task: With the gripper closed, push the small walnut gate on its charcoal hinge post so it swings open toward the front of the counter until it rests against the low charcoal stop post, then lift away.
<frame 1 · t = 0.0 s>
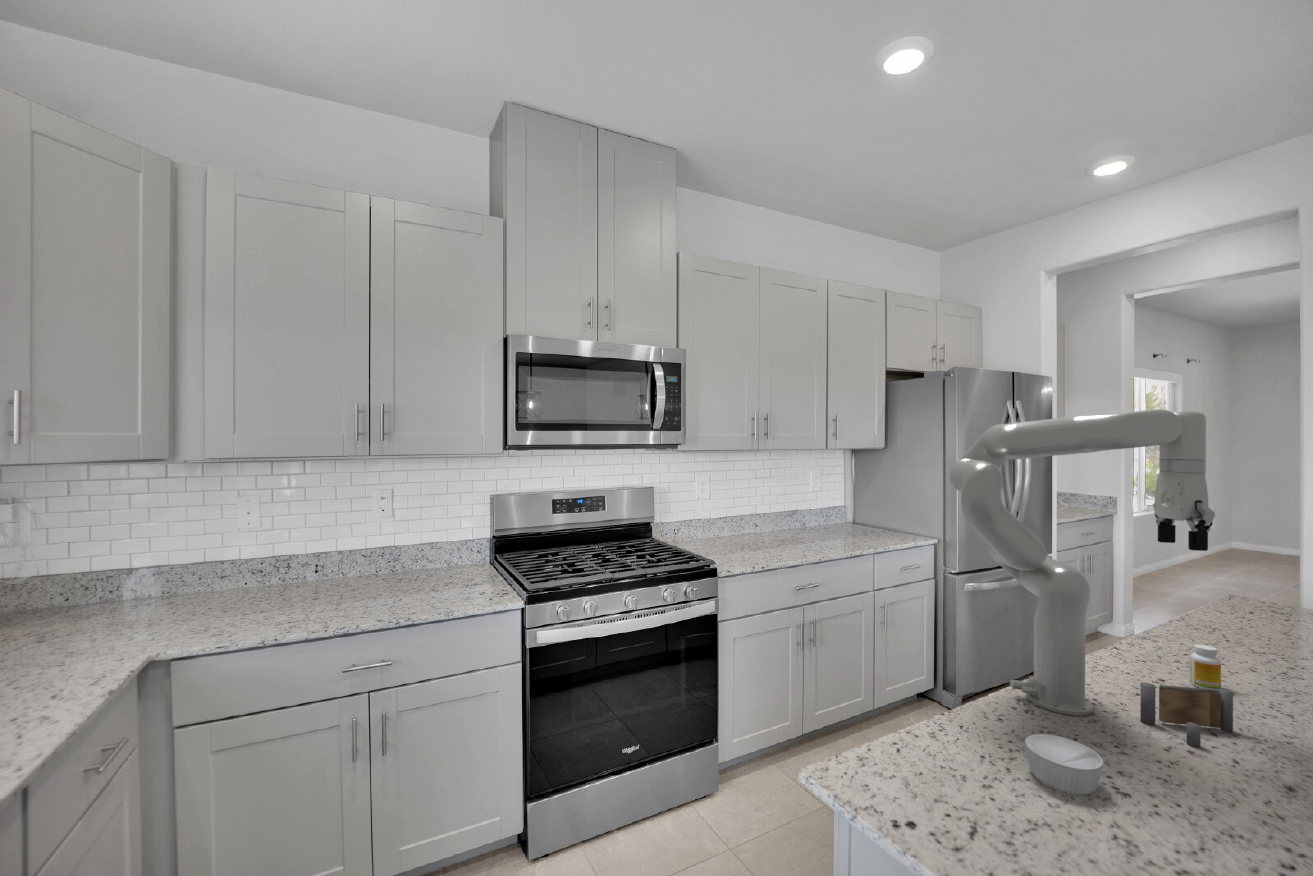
hand: (1181, 546, 125), 37 cm above the countertop, tool pointing down, fingers open, 9 cm apart
gate: (1189, 705, 120), point 4 cm above the countertop, hinge at 0.0°
supplement bottle: (1205, 687, 140), on the countertop
gate frame: (1157, 723, 121), on the countertop
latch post: (1226, 730, 118), on the countertop
ramekin: (1062, 781, 100), on the countertop
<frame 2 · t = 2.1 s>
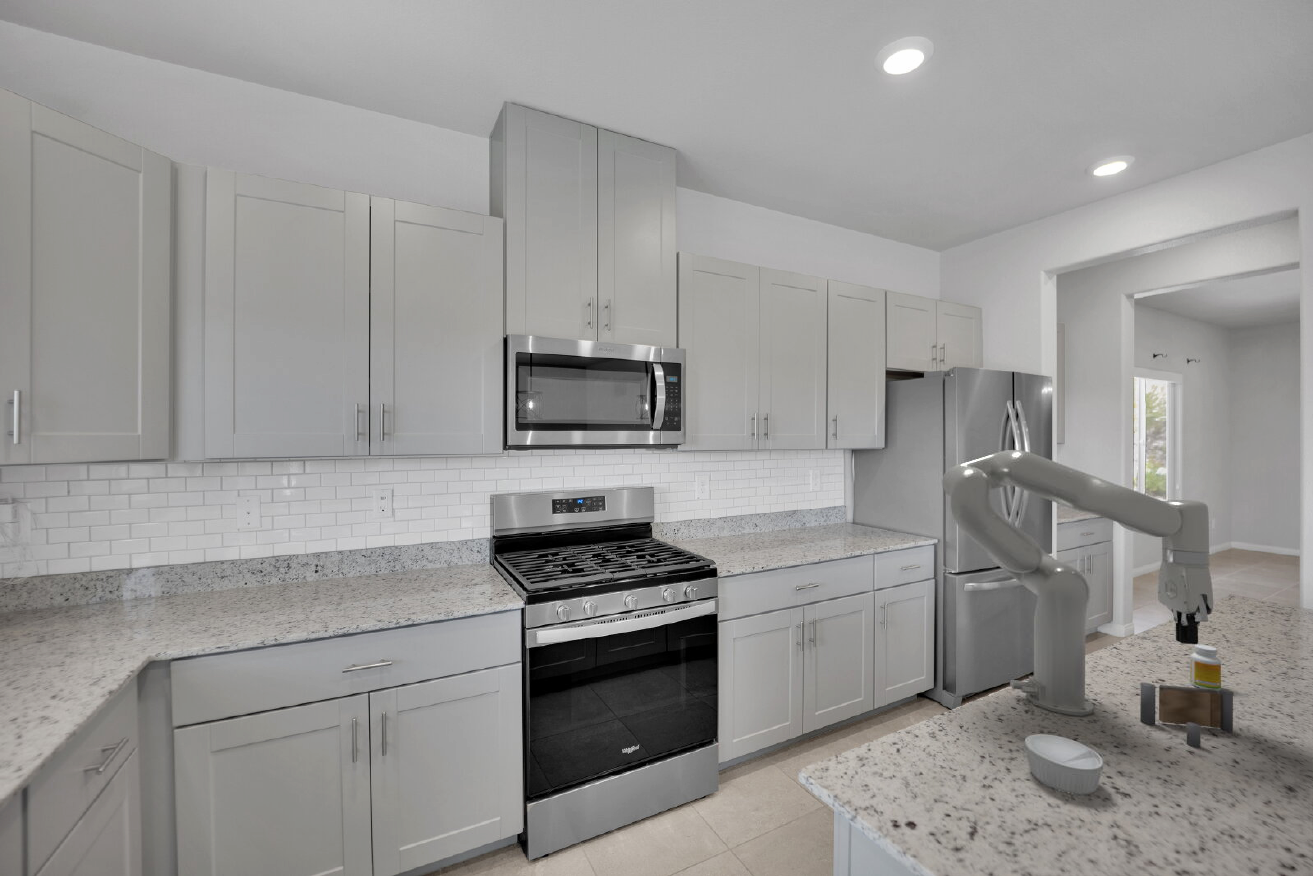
hand: (1187, 642, 124), 16 cm above the countertop, tool pointing down, fingers closed
nothing on the countertop moved.
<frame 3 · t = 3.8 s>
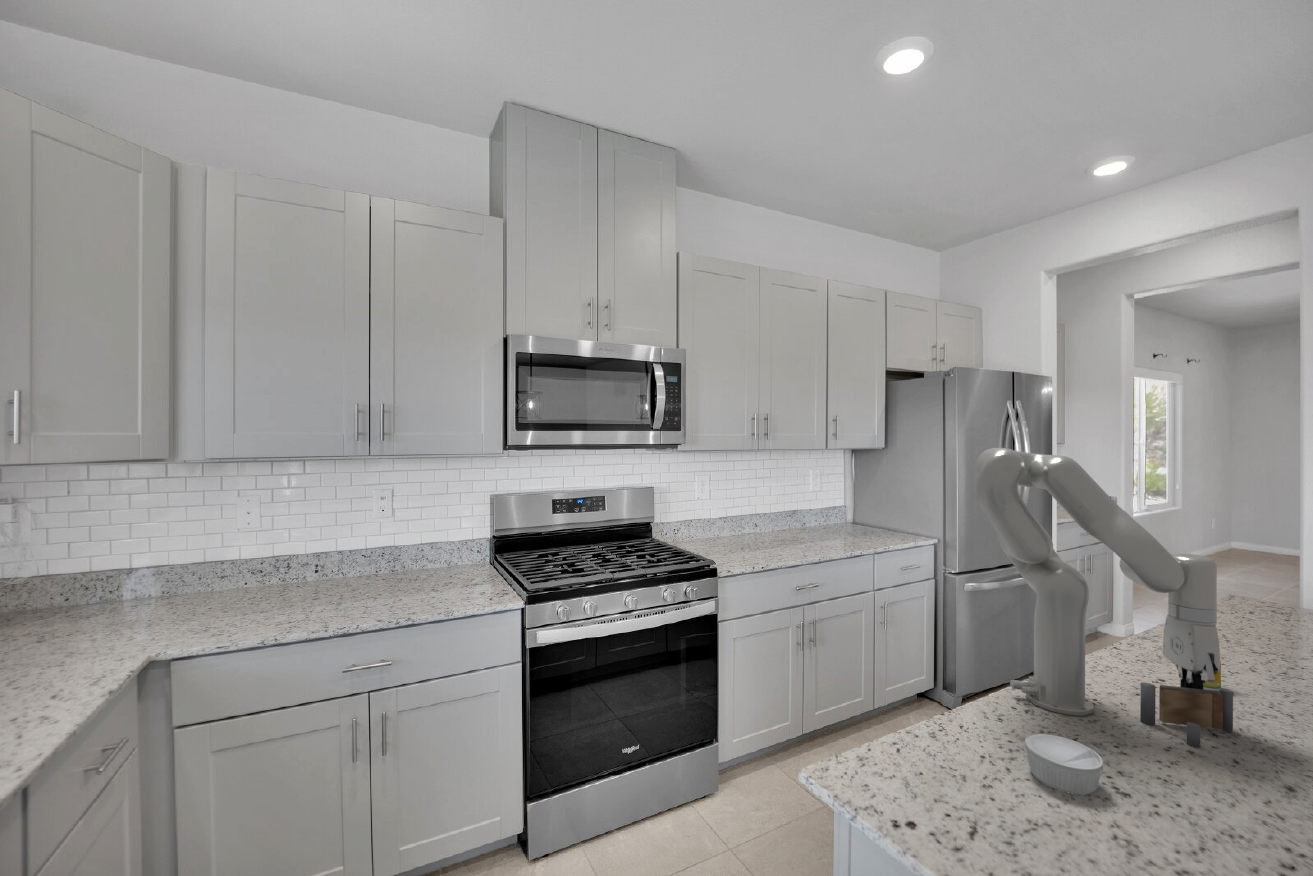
hand: (1191, 699, 121), 5 cm above the countertop, tool pointing down, fingers closed
gate: (1190, 706, 119), point 4 cm above the countertop, hinge at -4.0°, touching gripper
everything else where it was.
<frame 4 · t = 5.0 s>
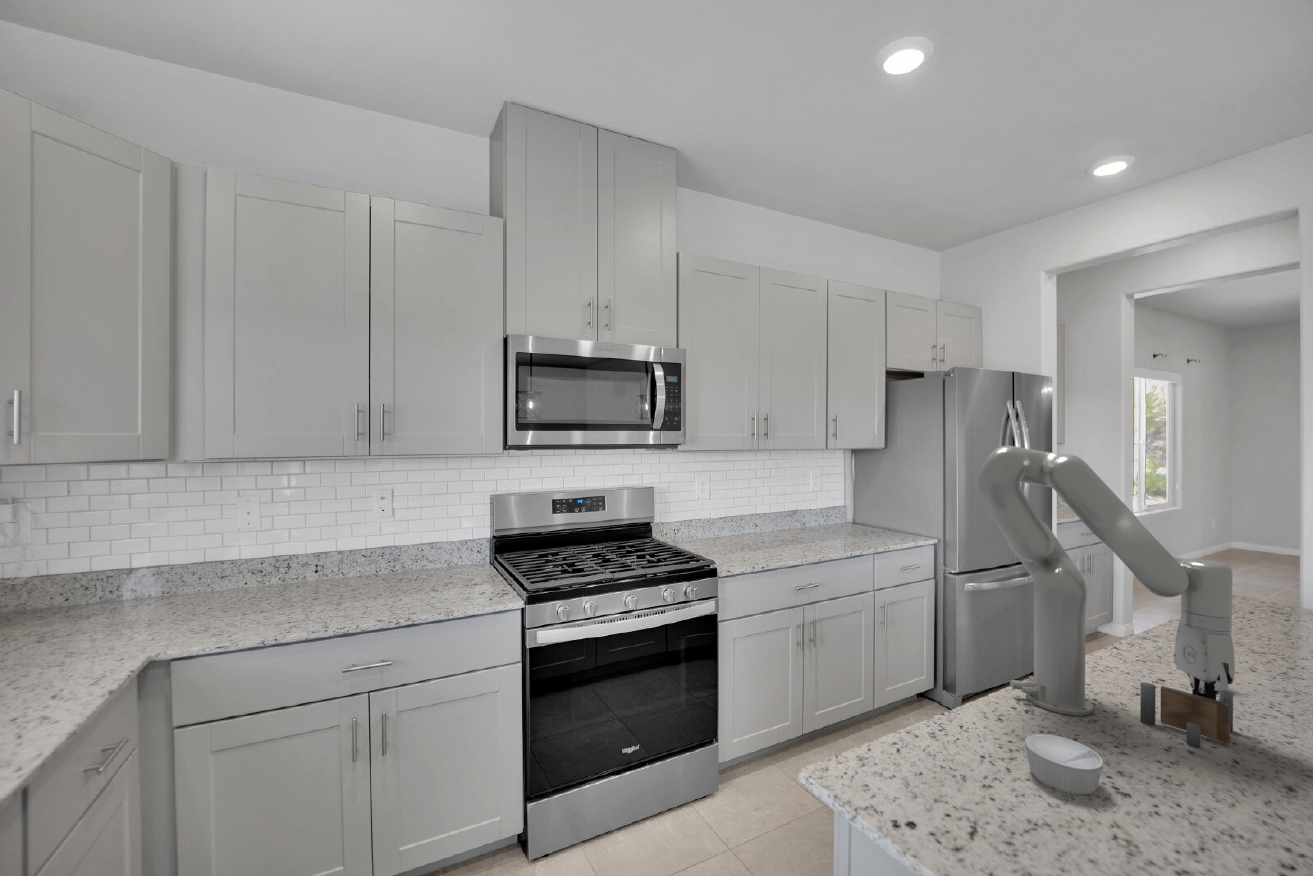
hand: (1203, 710, 117), 4 cm above the countertop, tool pointing down, fingers closed
gate: (1194, 713, 116), point 4 cm above the countertop, hinge at -41.8°, touching gripper
everything else where it was.
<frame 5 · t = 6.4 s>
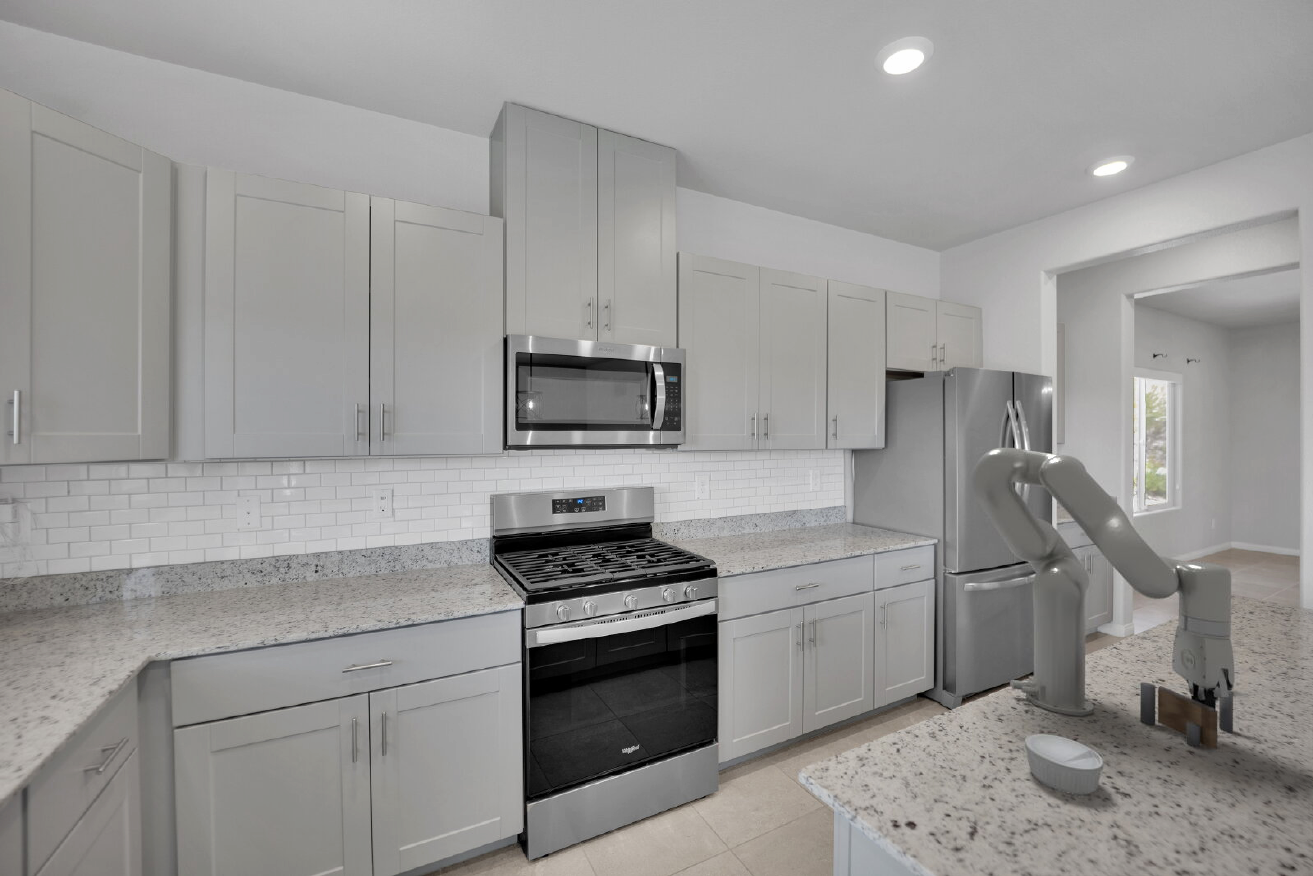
hand: (1203, 717, 114), 5 cm above the countertop, tool pointing down, fingers closed
gate: (1186, 715, 115), point 4 cm above the countertop, hinge at -71.3°, touching gate frame, gripper
everything else where it was.
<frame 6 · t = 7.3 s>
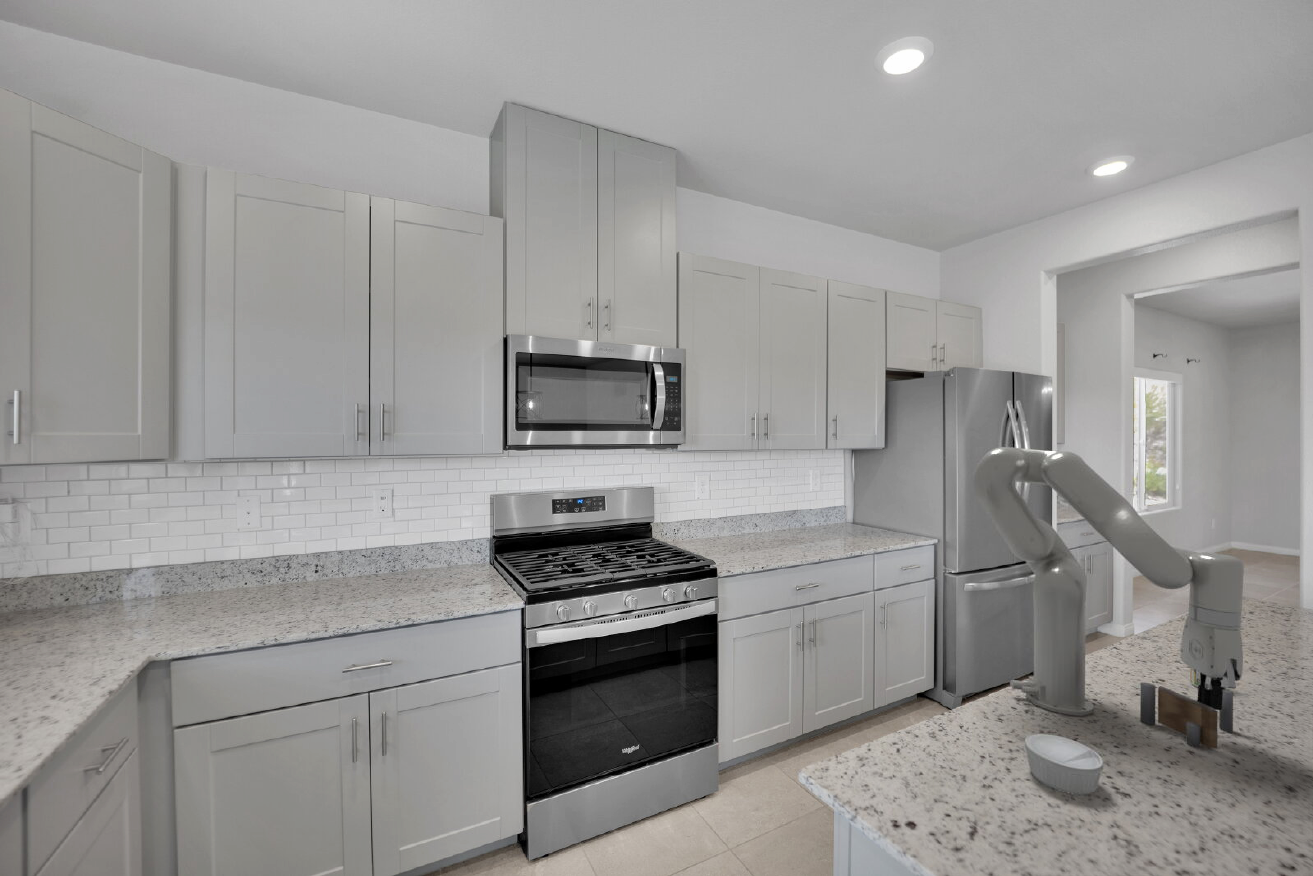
hand: (1209, 707, 114), 6 cm above the countertop, tool pointing down, fingers closed
gate: (1186, 715, 115), point 4 cm above the countertop, hinge at -71.2°
everything else where it was.
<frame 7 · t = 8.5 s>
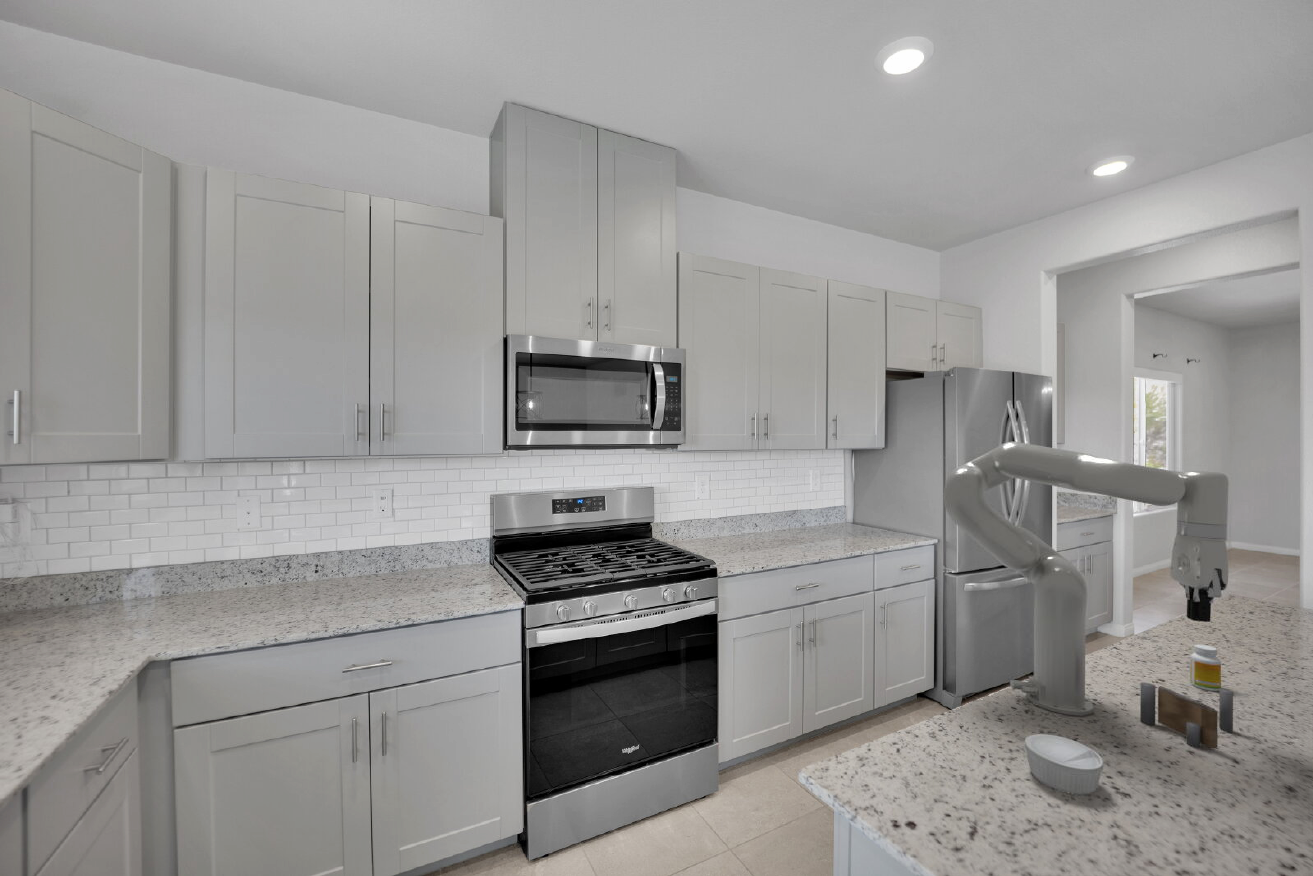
hand: (1198, 619, 118), 23 cm above the countertop, tool pointing down, fingers closed
nothing on the countertop moved.
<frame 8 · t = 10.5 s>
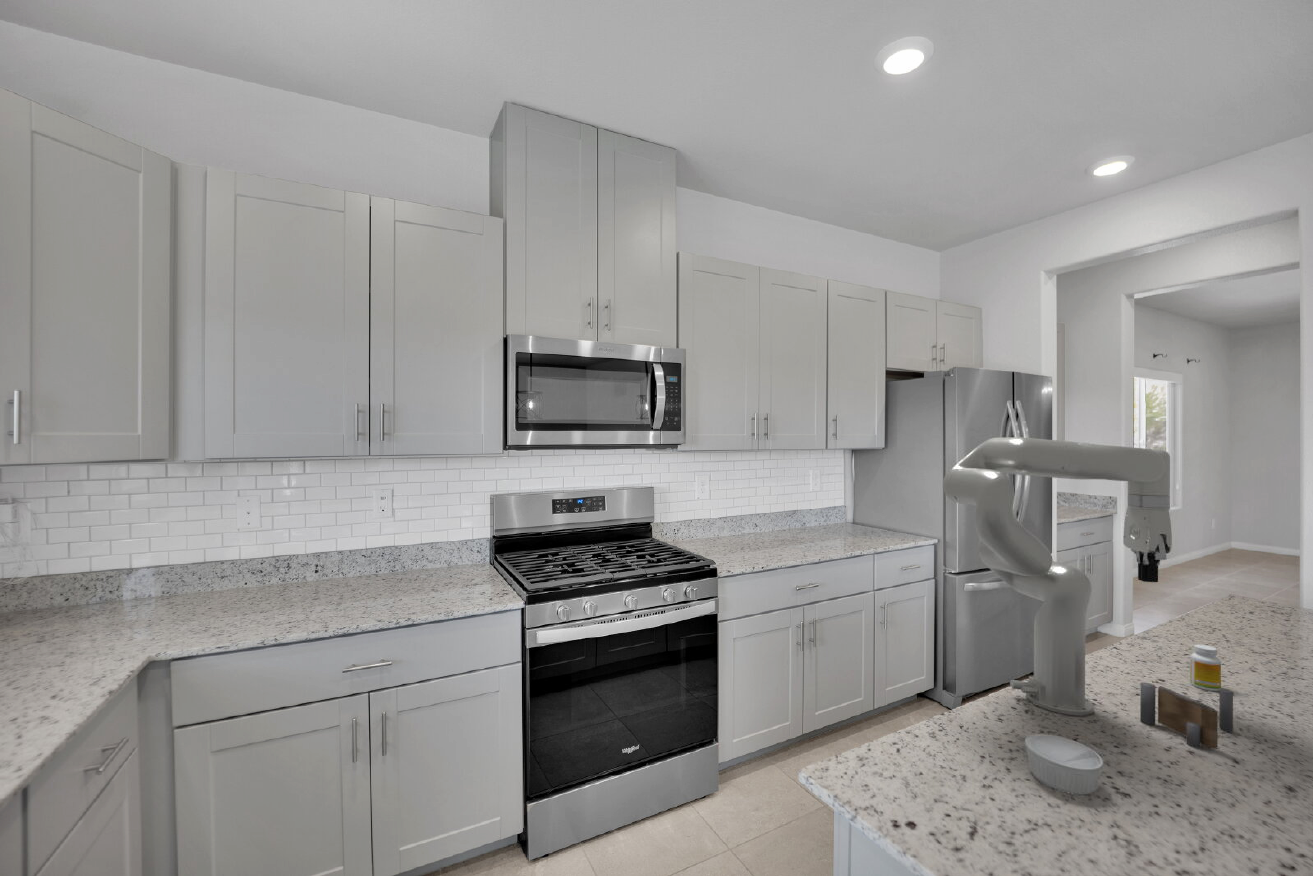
hand: (1147, 581, 133), 27 cm above the countertop, tool pointing down, fingers closed
nothing on the countertop moved.
at the end: gate at -71° (first picture: +0°); supplement bottle moved 0.2 cm from its start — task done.
